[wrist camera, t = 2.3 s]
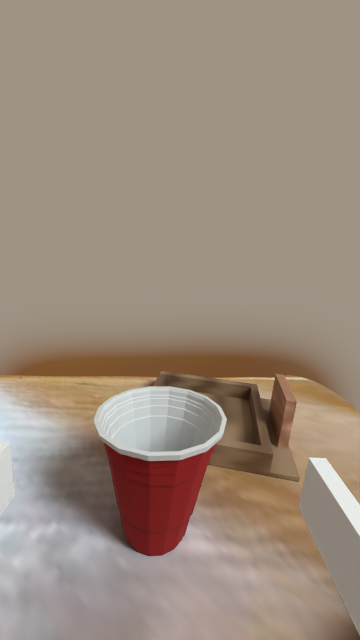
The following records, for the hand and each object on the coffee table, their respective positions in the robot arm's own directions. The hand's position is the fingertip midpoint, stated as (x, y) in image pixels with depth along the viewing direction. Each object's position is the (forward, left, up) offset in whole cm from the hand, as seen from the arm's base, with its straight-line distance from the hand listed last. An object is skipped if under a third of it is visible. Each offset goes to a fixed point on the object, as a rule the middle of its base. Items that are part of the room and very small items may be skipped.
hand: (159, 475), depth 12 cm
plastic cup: (-2, +10, -15) cm, 18 cm away
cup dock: (+3, +27, -15) cm, 31 cm away
